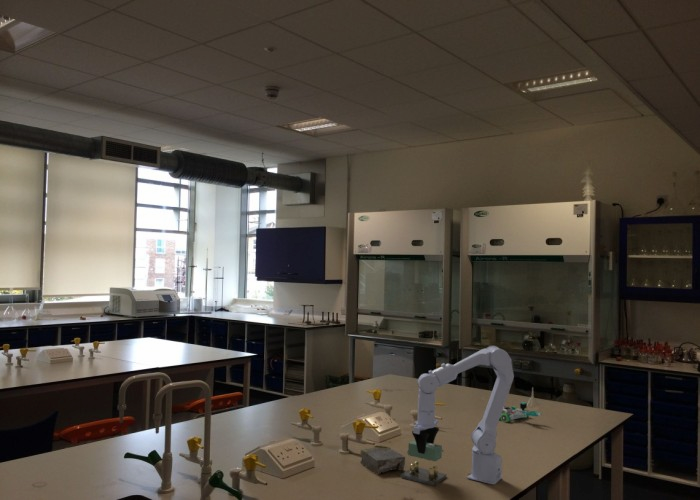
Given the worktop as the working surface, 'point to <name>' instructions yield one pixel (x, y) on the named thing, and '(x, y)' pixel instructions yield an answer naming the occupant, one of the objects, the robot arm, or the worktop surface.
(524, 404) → the robot kit
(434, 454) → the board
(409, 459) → the worktop surface
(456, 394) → the worktop surface
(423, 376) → the robot arm
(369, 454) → the geological specimen
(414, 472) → the plate
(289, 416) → the worktop surface
